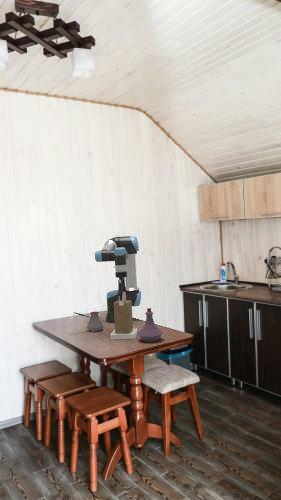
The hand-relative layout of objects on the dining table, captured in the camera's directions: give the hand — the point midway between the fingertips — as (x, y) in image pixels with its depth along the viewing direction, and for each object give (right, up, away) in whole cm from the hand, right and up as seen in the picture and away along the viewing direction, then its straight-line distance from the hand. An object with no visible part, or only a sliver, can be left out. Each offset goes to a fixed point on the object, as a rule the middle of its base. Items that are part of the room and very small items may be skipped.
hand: (122, 303), depth 285 cm
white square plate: (+1, -22, +1) cm, 22 cm away
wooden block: (+1, -19, 0) cm, 19 cm away
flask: (+18, -22, -13) cm, 31 cm away
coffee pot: (-24, -22, +19) cm, 38 cm away
